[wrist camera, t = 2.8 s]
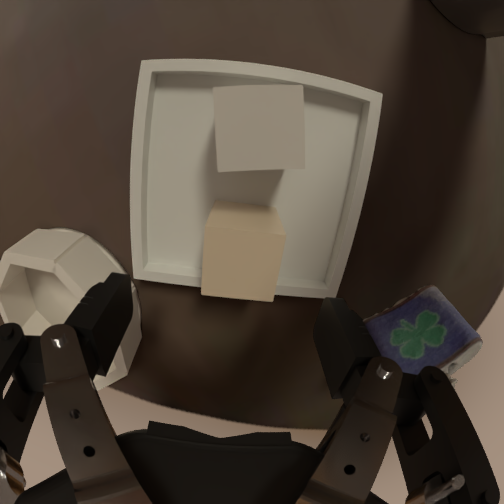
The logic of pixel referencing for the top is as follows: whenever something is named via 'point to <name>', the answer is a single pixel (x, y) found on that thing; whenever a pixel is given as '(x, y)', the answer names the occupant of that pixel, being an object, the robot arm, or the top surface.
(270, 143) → the pebble grey
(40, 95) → the top surface
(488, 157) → the top surface
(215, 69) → the tray
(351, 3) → the top surface
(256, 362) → the top surface
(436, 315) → the flask
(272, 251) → the cream wooden brick
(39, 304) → the bowl
